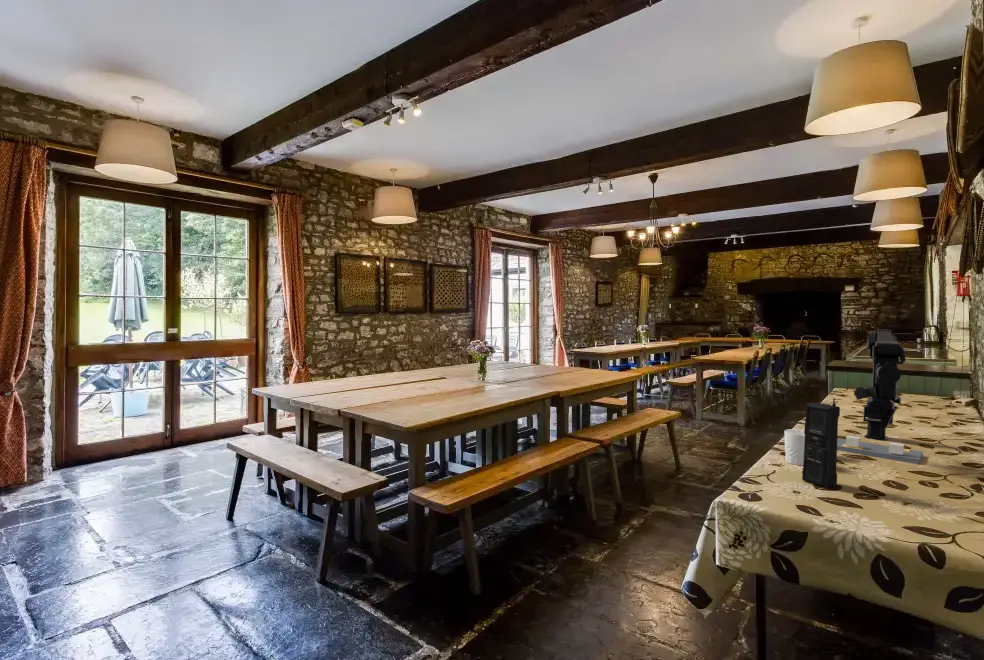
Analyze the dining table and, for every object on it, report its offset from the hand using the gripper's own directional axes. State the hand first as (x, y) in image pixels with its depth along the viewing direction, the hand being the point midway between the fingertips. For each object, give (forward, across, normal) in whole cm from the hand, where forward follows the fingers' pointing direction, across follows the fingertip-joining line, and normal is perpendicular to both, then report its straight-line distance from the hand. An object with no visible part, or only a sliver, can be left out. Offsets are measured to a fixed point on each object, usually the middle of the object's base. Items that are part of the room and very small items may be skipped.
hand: (884, 427), depth 164 cm
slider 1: (+9, -4, -9) cm, 13 cm away
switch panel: (+10, -8, -3) cm, 14 cm away
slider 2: (+9, -4, +3) cm, 10 cm away
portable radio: (+12, +42, -9) cm, 45 cm away
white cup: (+12, +25, -18) cm, 33 cm away
